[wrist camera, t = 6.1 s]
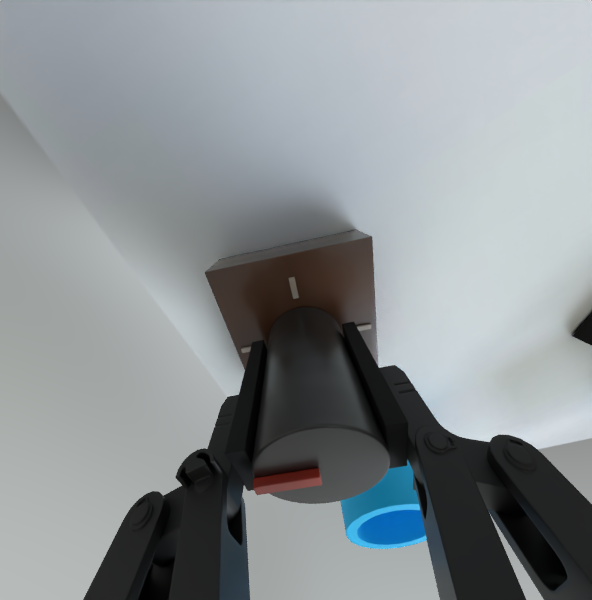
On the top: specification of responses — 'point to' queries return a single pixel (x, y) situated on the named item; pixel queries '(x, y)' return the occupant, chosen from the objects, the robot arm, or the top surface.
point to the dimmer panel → (297, 287)
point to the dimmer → (314, 416)
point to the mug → (385, 513)
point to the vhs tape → (585, 331)
